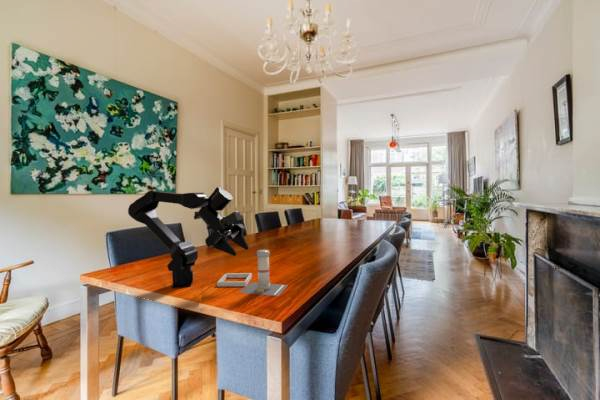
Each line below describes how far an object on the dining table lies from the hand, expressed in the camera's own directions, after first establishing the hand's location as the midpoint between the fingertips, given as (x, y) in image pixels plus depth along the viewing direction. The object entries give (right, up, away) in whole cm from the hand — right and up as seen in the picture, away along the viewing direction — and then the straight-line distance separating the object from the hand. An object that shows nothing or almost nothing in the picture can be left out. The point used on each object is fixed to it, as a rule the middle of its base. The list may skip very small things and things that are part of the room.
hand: (242, 251), depth 95 cm
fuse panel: (+8, -13, -2) cm, 16 cm away
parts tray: (-4, -13, +6) cm, 15 cm away
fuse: (+8, -12, -2) cm, 15 cm away
